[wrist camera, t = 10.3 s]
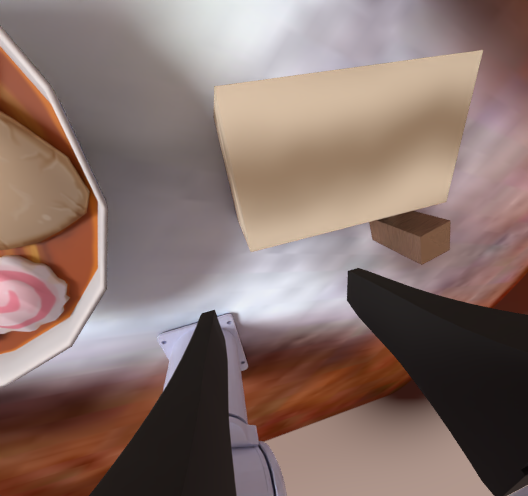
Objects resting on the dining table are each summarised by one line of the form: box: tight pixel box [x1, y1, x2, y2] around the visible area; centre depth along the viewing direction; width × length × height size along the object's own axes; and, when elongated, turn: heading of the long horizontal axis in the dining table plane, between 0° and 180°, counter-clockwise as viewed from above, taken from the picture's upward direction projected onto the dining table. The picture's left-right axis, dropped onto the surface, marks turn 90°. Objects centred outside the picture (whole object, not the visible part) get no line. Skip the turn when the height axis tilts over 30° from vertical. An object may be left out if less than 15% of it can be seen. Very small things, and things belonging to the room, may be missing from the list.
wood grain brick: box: [369, 211, 450, 265], centre depth 17 cm, size 12×3×6 cm, turn 25°
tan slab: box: [214, 50, 483, 252], centre depth 14 cm, size 8×15×7 cm, turn 100°
